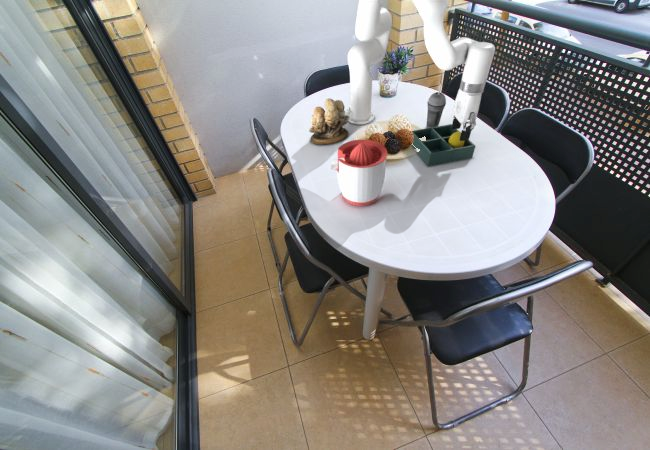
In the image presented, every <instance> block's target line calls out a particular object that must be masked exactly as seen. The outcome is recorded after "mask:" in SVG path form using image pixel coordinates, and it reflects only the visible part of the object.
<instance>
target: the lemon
mask: <svg viewBox="0 0 650 450" xmlns="http://www.w3.org/2000/svg"><path fill="white" fill-rule="evenodd" d="M459 131H460V130H459ZM459 131H457V132H455V133H453V134H452V135H451V136H450V138H449V143H448V144H449V145H450V146H451V147H452V148H453V149H455V148H461V147H463V145H464V141H460V136H461V132H462V131H460V132H459Z"/></svg>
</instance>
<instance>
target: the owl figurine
mask: <svg viewBox="0 0 650 450" xmlns="http://www.w3.org/2000/svg"><path fill="white" fill-rule="evenodd" d="M324 108H325V109H324ZM324 108H323V107H322V106H316V107H315V108H313V114H312V115H311V118H310V119H311V121H310V123H311V124H310V125H311V126H310V127H309V129H308V132H309V133H313V134H312V135H311V137H310V141H311V143H312V144H313V145H316V146H329V145H334V144H337V143H340V142H343V141H344V140H346V139H347V137H348V136H349V131H348V129H347V128H345V127H344V126H345V125H347V123H348V122H349V121H348V120H349V118H348V117H349V116H348V115H345V111H346V110H345V105H344V102H343V101H342V100H341V99H336V100H334V99H332V98H326V99H325V100H324Z"/></svg>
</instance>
